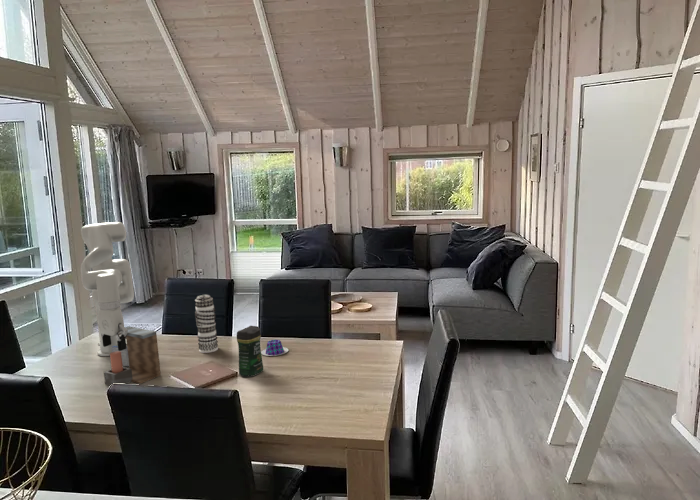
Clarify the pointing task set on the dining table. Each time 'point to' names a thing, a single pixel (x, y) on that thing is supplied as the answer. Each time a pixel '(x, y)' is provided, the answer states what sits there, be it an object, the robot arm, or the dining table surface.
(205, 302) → the decorative candle
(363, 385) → the dining table surface
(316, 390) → the dining table surface
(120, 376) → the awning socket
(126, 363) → the medicine box
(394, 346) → the dining table surface
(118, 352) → the peg
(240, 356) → the coffee jar
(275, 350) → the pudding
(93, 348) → the dining table surface
